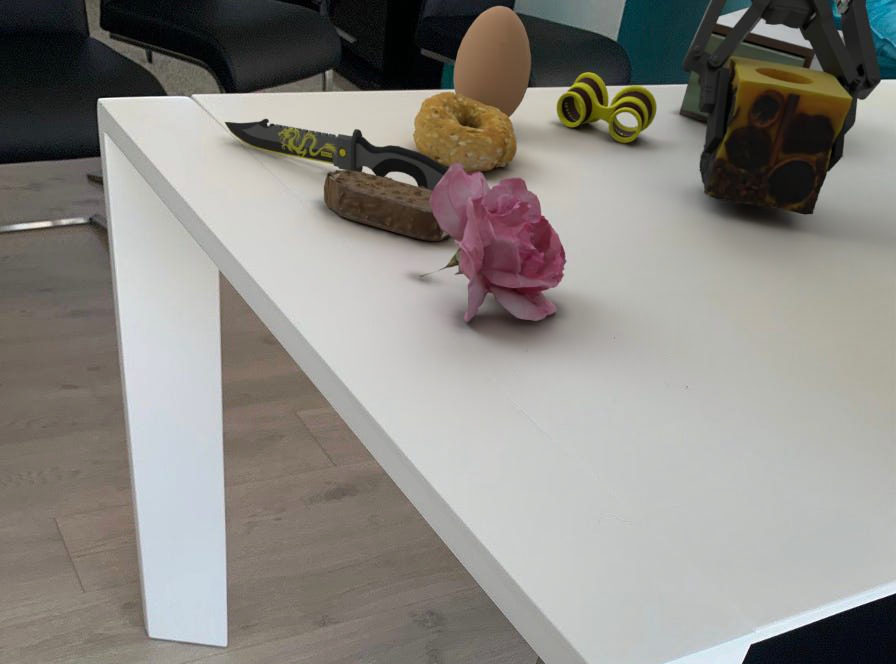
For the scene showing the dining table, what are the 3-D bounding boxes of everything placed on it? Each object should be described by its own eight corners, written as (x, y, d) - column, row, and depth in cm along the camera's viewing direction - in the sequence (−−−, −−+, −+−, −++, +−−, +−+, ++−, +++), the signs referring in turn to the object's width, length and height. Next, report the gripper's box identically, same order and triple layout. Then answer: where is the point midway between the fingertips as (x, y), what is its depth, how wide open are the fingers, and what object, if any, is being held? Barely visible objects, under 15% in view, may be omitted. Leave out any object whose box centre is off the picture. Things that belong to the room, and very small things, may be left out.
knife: (222, 167, 93) (218, 107, 90) (232, 163, 94) (228, 104, 91) (453, 213, 85) (456, 149, 82) (461, 209, 86) (465, 145, 83)
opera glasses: (550, 130, 111) (557, 82, 107) (570, 111, 114) (577, 64, 110) (633, 155, 108) (644, 107, 104) (651, 135, 111) (662, 88, 107)
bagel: (411, 169, 93) (418, 113, 90) (410, 132, 101) (417, 80, 98) (518, 184, 94) (529, 129, 90) (509, 146, 102) (519, 95, 99)
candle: (812, 218, 93) (857, 100, 87) (703, 198, 94) (739, 79, 87) (797, 183, 101) (837, 72, 94) (696, 164, 101) (729, 53, 95)
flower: (559, 345, 77) (621, 274, 68) (439, 365, 74) (487, 292, 65) (514, 210, 79) (568, 122, 69) (394, 223, 76) (435, 133, 66)
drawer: (763, 145, 112) (790, 65, 107) (666, 115, 116) (688, 37, 110) (810, 116, 125) (837, 43, 120) (722, 90, 129) (743, 19, 124)
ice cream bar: (336, 193, 86) (338, 159, 84) (505, 239, 83) (512, 205, 81) (309, 211, 82) (311, 176, 80) (485, 261, 79) (492, 225, 77)
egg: (518, 121, 109) (540, 5, 102) (519, 142, 103) (542, 21, 96) (448, 109, 109) (465, -8, 102) (445, 130, 103) (463, 7, 96)
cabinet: (782, 145, 117) (816, 49, 110) (678, 113, 121) (705, 20, 114) (818, 121, 127) (851, 33, 121) (722, 93, 132) (749, 6, 125)
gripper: (894, -29, 98) (873, 193, 97) (661, -67, 97) (637, 157, 96) (938, -88, 91) (917, 151, 89) (687, -130, 90) (661, 112, 88)
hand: (772, 154), depth 92 cm, fingers closed on candle, 10 cm apart
